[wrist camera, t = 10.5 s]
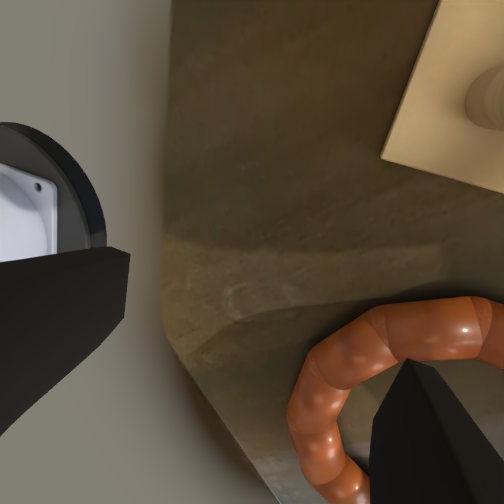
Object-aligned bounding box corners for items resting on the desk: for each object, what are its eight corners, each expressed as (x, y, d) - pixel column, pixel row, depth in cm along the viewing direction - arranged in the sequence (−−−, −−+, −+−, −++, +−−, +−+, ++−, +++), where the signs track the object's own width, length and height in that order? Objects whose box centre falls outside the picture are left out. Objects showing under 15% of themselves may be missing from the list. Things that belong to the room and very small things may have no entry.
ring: (266, 456, 24) (255, 493, 21) (347, 243, 17) (344, 264, 15) (518, 570, 21) (537, 626, 19) (729, 369, 14) (798, 419, 12)
